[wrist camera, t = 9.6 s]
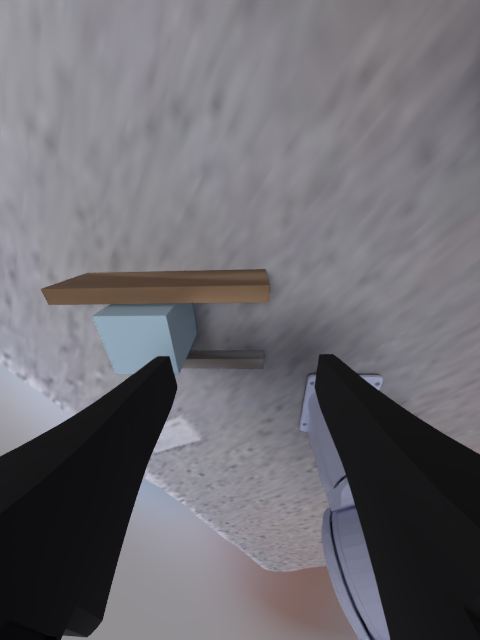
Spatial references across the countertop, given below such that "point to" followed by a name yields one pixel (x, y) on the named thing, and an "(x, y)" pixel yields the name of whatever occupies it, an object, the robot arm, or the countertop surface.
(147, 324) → the cabinet block
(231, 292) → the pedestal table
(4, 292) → the countertop surface
